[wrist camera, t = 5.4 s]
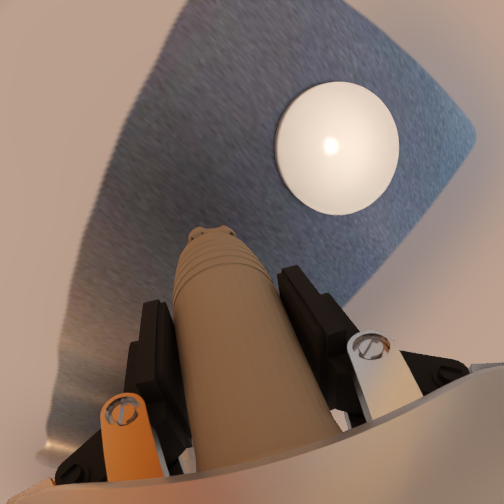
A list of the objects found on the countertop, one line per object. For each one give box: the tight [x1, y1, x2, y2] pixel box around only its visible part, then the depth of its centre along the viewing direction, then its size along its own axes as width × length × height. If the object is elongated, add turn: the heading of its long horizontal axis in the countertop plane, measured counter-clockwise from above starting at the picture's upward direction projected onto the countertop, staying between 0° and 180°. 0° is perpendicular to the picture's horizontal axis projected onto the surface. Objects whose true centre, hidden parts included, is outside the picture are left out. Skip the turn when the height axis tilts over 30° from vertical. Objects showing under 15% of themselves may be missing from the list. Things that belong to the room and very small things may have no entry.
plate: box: [274, 82, 399, 215], centre depth 31 cm, size 14×14×2 cm
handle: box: [173, 225, 342, 472], centre depth 10 cm, size 5×6×15 cm
